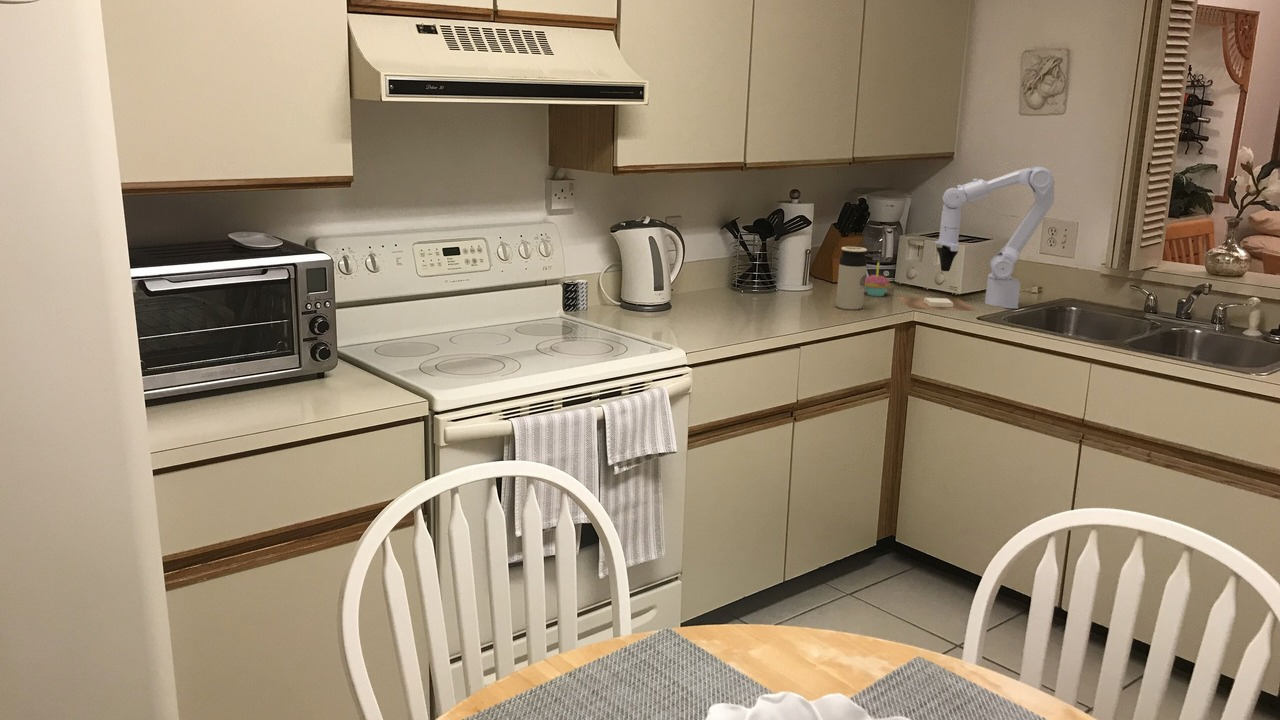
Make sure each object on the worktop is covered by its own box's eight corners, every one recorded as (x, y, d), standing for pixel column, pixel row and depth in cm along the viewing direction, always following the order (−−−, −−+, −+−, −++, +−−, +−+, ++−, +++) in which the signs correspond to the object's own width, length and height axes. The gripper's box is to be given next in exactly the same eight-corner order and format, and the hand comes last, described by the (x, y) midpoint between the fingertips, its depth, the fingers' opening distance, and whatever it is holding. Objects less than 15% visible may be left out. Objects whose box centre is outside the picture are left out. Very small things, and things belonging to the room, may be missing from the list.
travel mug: (830, 306, 307) (835, 247, 303) (846, 303, 312) (851, 245, 308) (851, 311, 301) (856, 251, 297) (867, 308, 307) (873, 249, 302)
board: (958, 301, 322) (958, 298, 322) (977, 313, 305) (977, 310, 304) (895, 299, 322) (896, 296, 321) (910, 311, 304) (911, 308, 304)
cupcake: (889, 300, 320) (893, 262, 317) (862, 298, 321) (865, 261, 318) (887, 295, 328) (891, 258, 325) (860, 293, 329) (864, 256, 326)
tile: (946, 298, 313) (953, 302, 307) (946, 303, 314) (952, 307, 307) (924, 297, 313) (930, 302, 307) (923, 302, 314) (929, 307, 307)
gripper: (930, 224, 321) (925, 266, 324) (944, 230, 307) (939, 274, 310) (952, 224, 321) (947, 267, 324) (967, 230, 307) (962, 275, 310)
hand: (945, 270), depth 317 cm, fingers closed
